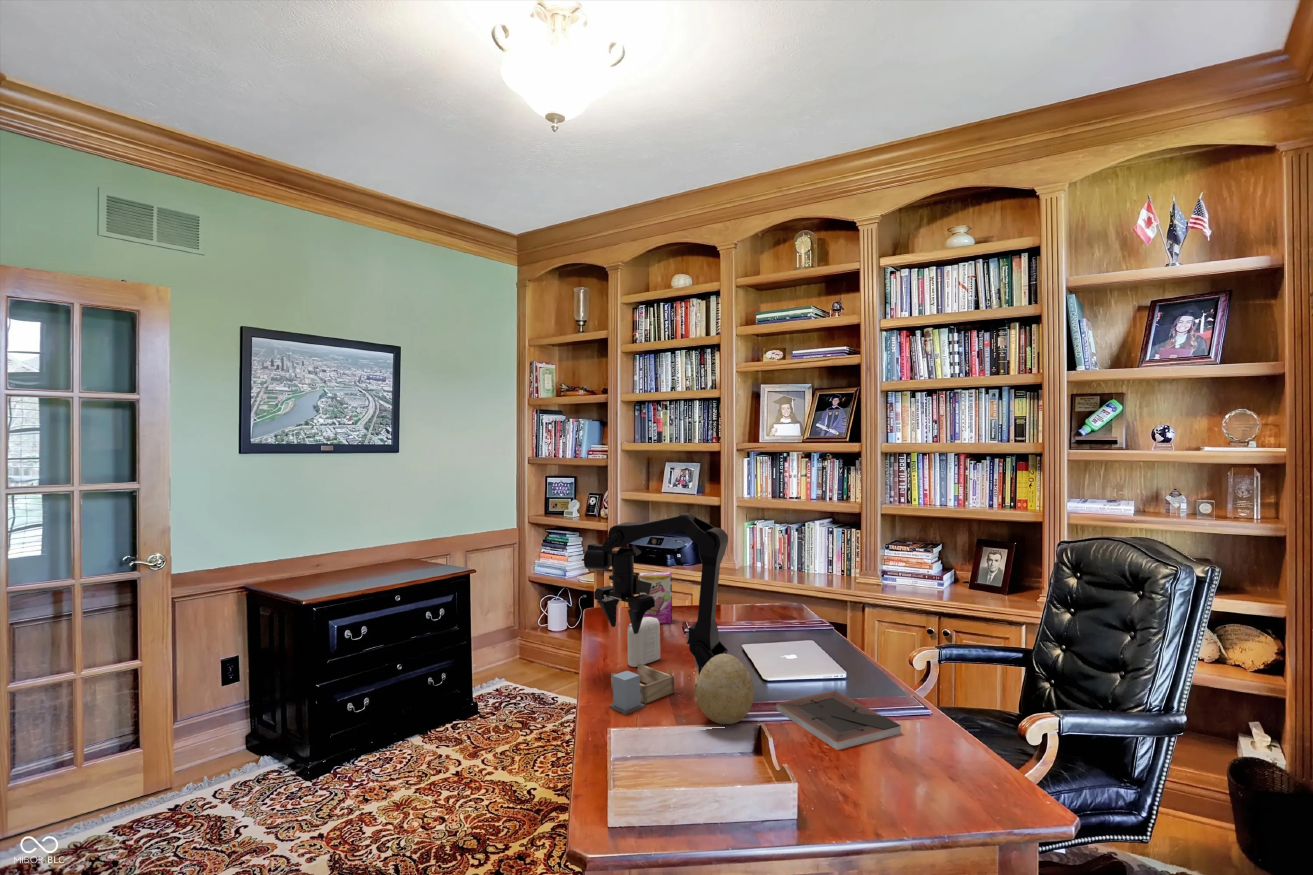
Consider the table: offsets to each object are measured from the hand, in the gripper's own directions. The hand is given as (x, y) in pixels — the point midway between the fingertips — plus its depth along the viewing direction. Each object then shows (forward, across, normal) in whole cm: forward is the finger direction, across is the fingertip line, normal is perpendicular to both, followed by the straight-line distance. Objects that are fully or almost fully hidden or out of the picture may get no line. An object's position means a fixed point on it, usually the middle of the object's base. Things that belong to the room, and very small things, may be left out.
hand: (624, 630), depth 182 cm
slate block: (+12, -16, +13) cm, 24 cm away
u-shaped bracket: (+12, -11, +4) cm, 17 cm away
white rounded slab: (+12, +4, -10) cm, 16 cm away
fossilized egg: (+12, -38, +3) cm, 40 cm away
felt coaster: (+12, -16, +13) cm, 24 cm away
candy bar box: (+12, +30, -38) cm, 50 cm away
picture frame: (+13, -55, -14) cm, 58 cm away
